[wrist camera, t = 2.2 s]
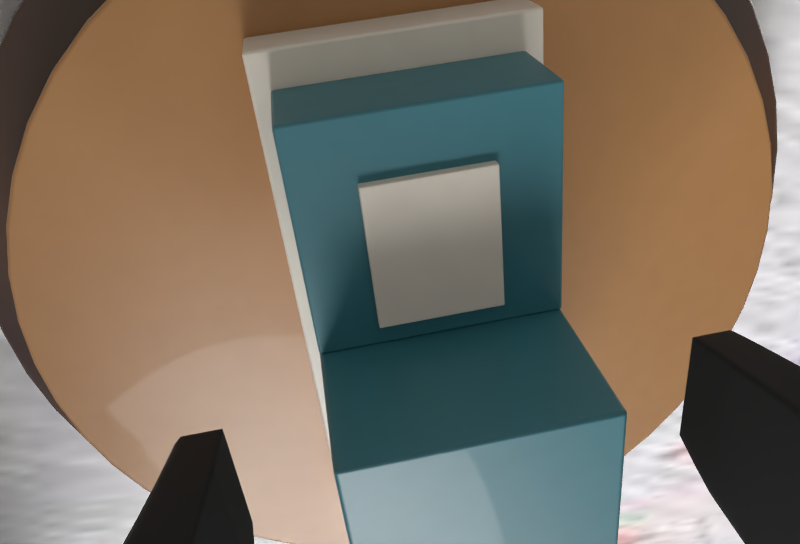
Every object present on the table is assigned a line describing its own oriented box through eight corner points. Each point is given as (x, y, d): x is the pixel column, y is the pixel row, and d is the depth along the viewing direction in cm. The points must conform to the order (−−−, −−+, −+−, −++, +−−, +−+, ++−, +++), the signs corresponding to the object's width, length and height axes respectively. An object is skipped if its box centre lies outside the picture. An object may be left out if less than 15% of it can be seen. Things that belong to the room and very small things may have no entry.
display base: (698, 425, 22) (727, 463, 21) (135, 542, 20) (126, 591, 19) (799, -260, 13) (861, -272, 12) (-179, -140, 12) (-235, -138, 10)
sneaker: (700, 448, 20) (865, 673, 14) (153, 562, 19) (109, 857, 13) (797, -192, 12) (1236, -227, 7) (-131, -71, 11) (-529, 10, 5)
